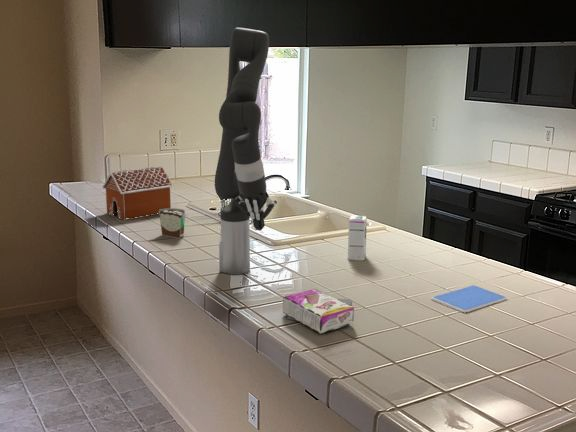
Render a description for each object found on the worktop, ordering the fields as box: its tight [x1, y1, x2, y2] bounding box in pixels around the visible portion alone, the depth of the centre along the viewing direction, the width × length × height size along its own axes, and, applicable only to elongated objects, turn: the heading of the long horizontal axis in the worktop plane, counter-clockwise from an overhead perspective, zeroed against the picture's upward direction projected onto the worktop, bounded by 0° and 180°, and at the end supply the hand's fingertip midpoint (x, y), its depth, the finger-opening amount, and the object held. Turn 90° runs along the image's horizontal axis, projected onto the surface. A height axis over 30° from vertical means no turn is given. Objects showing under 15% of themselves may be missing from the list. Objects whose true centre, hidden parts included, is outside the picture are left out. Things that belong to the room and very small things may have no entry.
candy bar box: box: [282, 288, 355, 334], centre depth 163 cm, size 11×5×16 cm
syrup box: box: [347, 214, 367, 262], centre depth 215 cm, size 6×6×14 cm
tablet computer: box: [431, 285, 508, 314], centre depth 180 cm, size 19×13×1 cm, turn 126°
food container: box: [157, 207, 188, 240], centre depth 240 cm, size 12×6×10 cm, turn 58°
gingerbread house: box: [101, 165, 174, 220], centre depth 274 cm, size 18×26×20 cm
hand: (259, 228), depth 175 cm, fingers closed
